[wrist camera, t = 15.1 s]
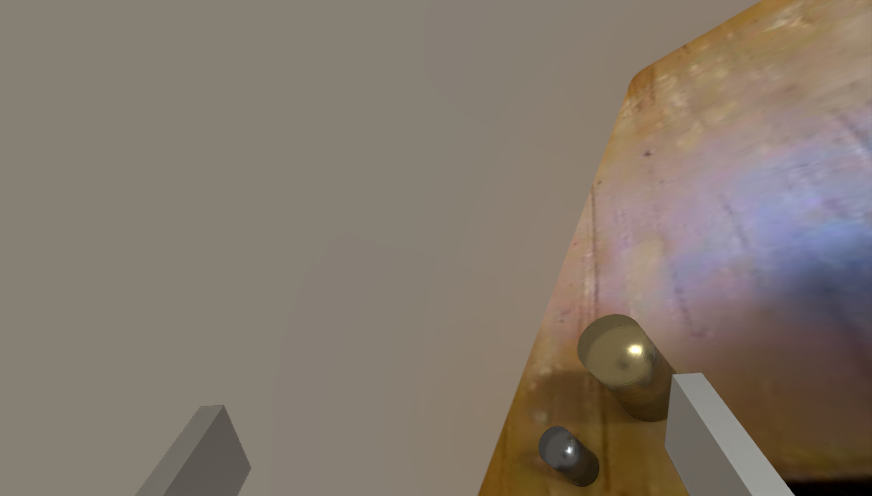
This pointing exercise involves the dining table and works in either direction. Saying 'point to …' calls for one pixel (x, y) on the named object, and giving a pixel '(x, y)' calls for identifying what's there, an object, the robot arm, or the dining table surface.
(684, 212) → the dining table surface
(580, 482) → the short dark roller
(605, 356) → the fat brass roller
